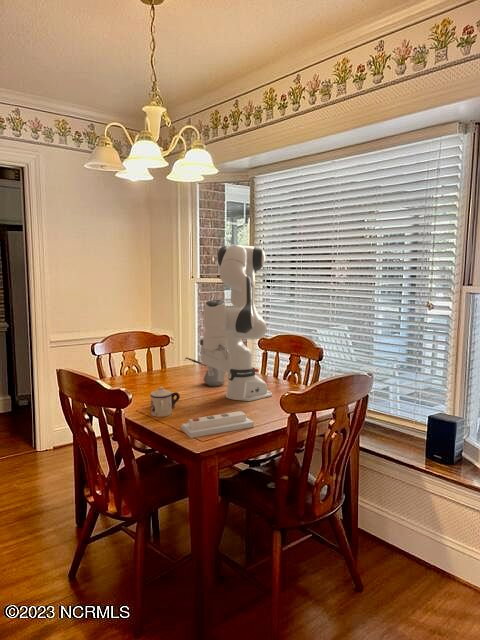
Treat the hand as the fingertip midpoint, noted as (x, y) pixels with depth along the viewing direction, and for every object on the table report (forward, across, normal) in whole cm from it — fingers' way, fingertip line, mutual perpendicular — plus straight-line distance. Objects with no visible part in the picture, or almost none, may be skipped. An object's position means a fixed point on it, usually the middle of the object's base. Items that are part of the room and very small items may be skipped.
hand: (215, 378), depth 175 cm
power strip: (+19, -2, 0) cm, 19 cm away
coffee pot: (+20, +61, -20) cm, 67 cm away
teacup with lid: (+20, +23, +15) cm, 34 cm away
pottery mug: (+20, +34, +10) cm, 40 cm away
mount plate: (+19, -2, 0) cm, 19 cm away
